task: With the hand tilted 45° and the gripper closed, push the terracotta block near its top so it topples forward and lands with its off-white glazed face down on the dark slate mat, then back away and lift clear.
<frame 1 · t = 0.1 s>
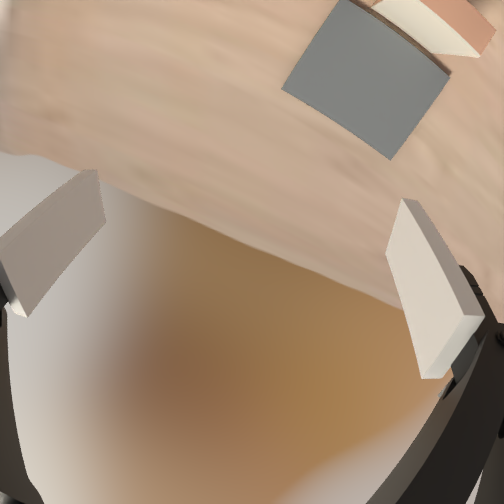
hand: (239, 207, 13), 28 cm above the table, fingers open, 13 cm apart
terracotta block: (409, 18, 26), on the table
slate mat: (369, 78, 32), on the table
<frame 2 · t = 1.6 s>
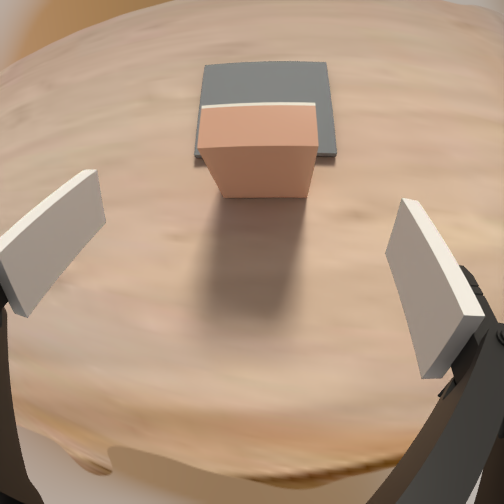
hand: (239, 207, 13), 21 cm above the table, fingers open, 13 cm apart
terracotta block: (265, 180, 35), on the table
slate mat: (265, 105, 36), on the table
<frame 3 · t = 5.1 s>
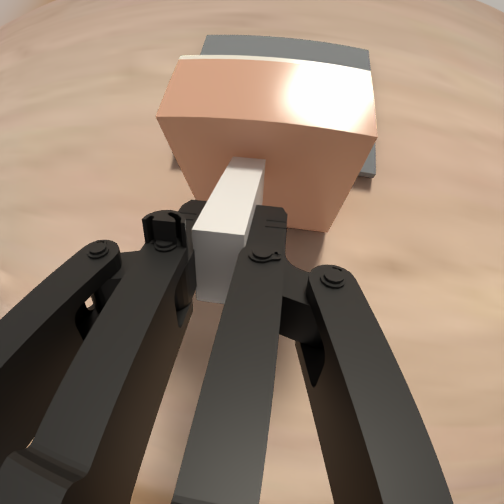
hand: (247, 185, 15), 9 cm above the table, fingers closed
terracotta block: (269, 199, 24), on the table, tilted 5°
slate mat: (281, 94, 26), on the table
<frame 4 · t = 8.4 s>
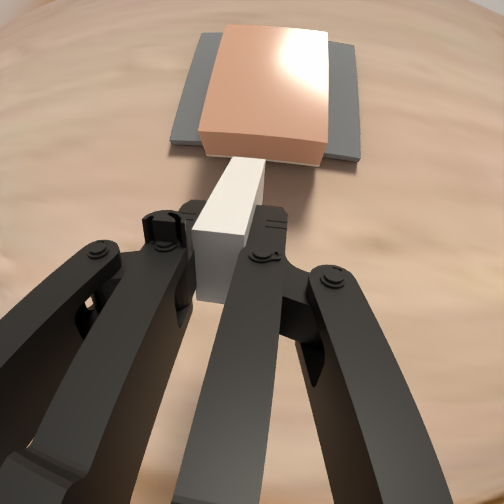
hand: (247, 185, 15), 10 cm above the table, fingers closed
terracotta block: (262, 148, 23), point 3 cm above the table, tilted 90°, touching slate mat
slate mat: (271, 86, 27), on the table
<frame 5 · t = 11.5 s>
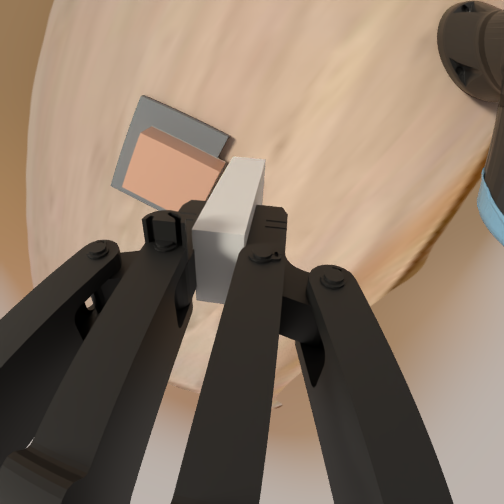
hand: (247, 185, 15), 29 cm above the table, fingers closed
terracotta block: (209, 192, 45), point 3 cm above the table, tilted 90°, touching slate mat
slate mat: (164, 160, 46), on the table
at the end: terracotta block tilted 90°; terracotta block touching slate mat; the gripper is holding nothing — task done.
